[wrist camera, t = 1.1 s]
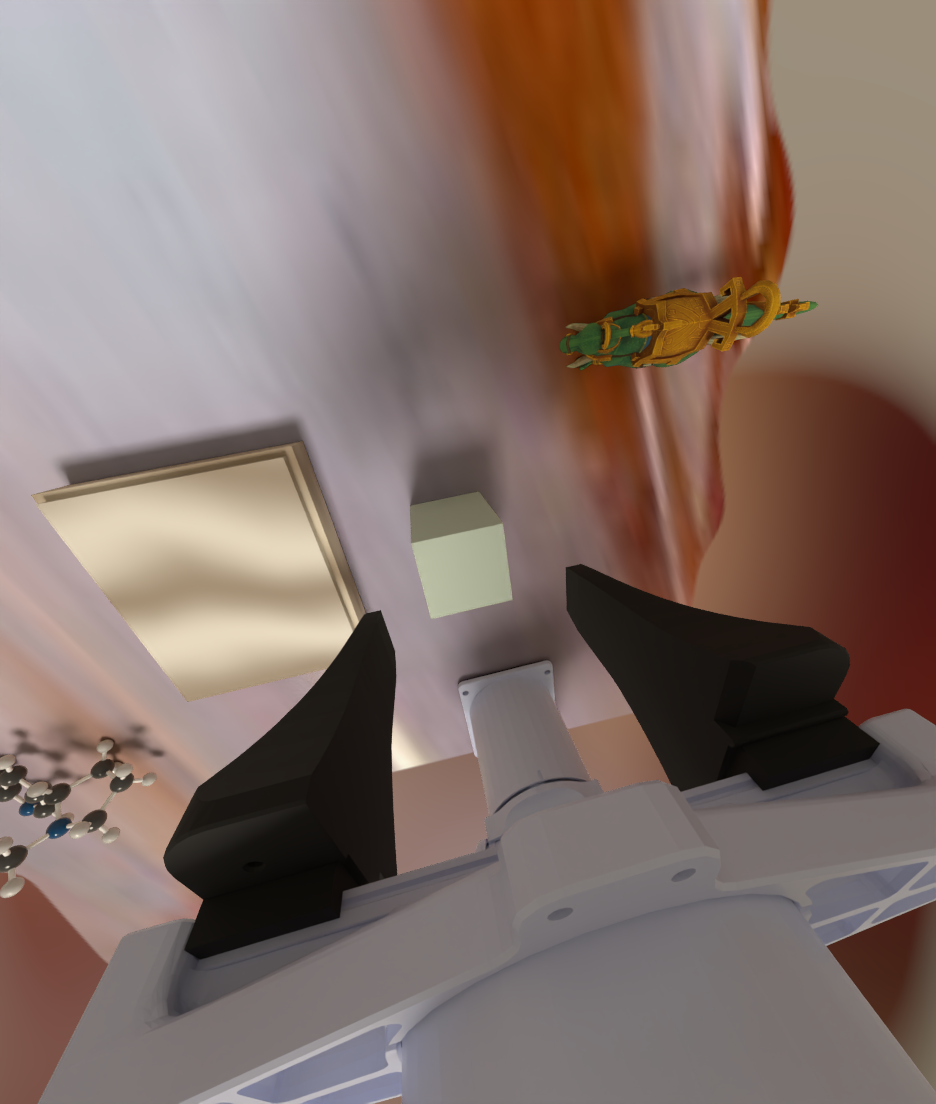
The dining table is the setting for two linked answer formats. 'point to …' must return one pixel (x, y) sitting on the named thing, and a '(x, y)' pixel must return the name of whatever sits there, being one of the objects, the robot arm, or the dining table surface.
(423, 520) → the sage block
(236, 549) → the birch base
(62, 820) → the molecule model
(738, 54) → the dining table surface
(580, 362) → the figurine
